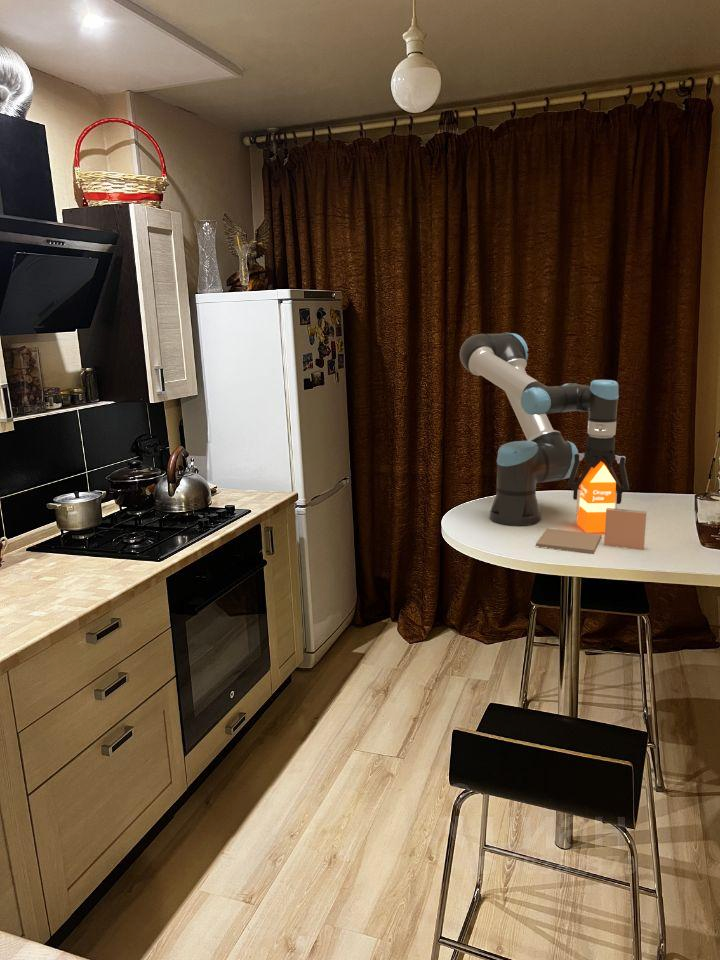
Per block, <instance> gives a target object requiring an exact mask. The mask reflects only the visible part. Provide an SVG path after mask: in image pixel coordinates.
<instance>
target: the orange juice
mask: <svg viewBox="0 0 720 960" xmlns="http://www.w3.org/2000/svg"><path fill="white" fill-rule="evenodd" d="M581 475H582V473H581V474H580V476H581ZM579 488H581V499H580V511H579V512H576V513H577V516H576V517H577V518H576V525H578V527H580V528H581V530H583V532H585V533H605V520H606V509H607V508H614V506H615V491H616V481H615V480H614V478H613V477H612V475H611V474H610V472H609V470H608V469H607V467H606V466H605V464H604V463H602V462H601V461H600V463H599V464H598V465H597V466H596V467H595V468H592V467H591V469H590V470H589V472H588V473H587V475H586V476H585V478H584V479H583V481H582V483H581V484H580V486H579Z"/></svg>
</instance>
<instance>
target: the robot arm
mask: <svg viewBox="0 0 720 960" xmlns="http://www.w3.org/2000/svg"><path fill="white" fill-rule="evenodd" d="M528 352H529V348H528V345H527V343H526V341H525V339H524V338H523V337H522V336H521V335H519V334H518V333H513V332H512V333H511V332H501V333H478V334H473V335H471V336H469V337H468V338H467V339H466V340H465V341H464V342H463V343H462V345H461V346H460V349H459V359H460V362H461V365H462V366H463V367H464V369H466V370H467V371H468V372H469V373H470V374H473V375H474V376H478V377H479V376H482V377H483V378H484V379H486V380H488V381H489V382H491V383H492V384H493V385H495V386H496V387H498V388H500V389H502V390H503V391H504V392H505V395H506V396H507V399H508V401H509V404H510V406H511V408H512V409H513V412H514V413H515V414H514V415H515V416H516V418H517V420H518V423H519V425H520V428H521V429H522V432H523V434H524V436H525V438H526V440H518V441H516V440H514V441H510V442H507V443H504V444H502V445H500V446H499V448H498V450H497V458H496V494H495V497H494V500H493V502H492V505H491V508H490V511H489V519H490V520H491V521H492V522H495V523H497V524H500V525H507V526H531V525H535V524H538V523H540V522H541V520H542V519H541V518H542V512H541V509H540V505H539V503H538V502H539V501H538V499H537V496H536V492H537V484H540V483H548V482H555V481H562V480H565V479H568V481H567V487H569V488H572V489H573V494H572V495H573V496H572V498H573V501H576V508H575V509H576V510H575V511H576V513H577V512H579V511H580V499H581V488H579V486H580V484H581V483H582V481H583V479H584V478H585V476H586V475H587V473H588V472H589V470H590V469H591V467H592V468H595V467H596V466H597V465H598V464H599V463H600V461H601V462H602V463H604V464H605V466H606V467H607V469H608V470H609V472H610V474H611V475H612V477H613V478H614V480H615V481H616V490H615V506H614V509H618V505H620V504H621V503H622V498H623V497H622V495H623V493H625V492H626V493H627V492H629V489H630V485H629V479H628V473H627V469H626V456H625V455H620V456H619V455H616V453H615V450H616V449H615V446H616V437H615V436H616V433H617V431H616V430H617V413H618V403H619V398H620V395H619V383H618V381H616V380H614V379H613V380H612V379H593V380H592V381H591V382H590V385H586V384H578V383H564V384H562V385H555V386H553V385H552V386H547V385H545V384H543V383H541V382H540V381H538V380H537V379H535V378H533V377H531V376H530V375H529V374H527V372H526V367H527V365H528V364H527V361H528V358H529V353H528ZM568 412H582V413H583V412H584V413H588V417H587V418H588V419H587V431H586V432H587V434H588V436H587V437H586V450H585V452H583V453H580V452H579V449H578V448H577V446H576V445H575V443H573V442H571V441H569V440H565V439H564V438H563V436H562V433H561V431H559V430H556V429H554V428H553V427H552V424H551V422H550V420H549V418H548V415H549V414H555V413H568ZM547 414H548V415H547ZM583 459H585V461H586V462H587V463H588V464H587V465H586V467H585V469H584V470H583V472H582V473H581V474H582V475H581V474H580V475H579V478H578V479H577V481H576V482H574V481H575V479H576V476H577V472H578V470H579V466H580V463H581V462H582V461H583ZM614 461H616V462H617V464H618V465H619V472H620V477H621V482H622V485H621V483H620V481H619V478H618V477H617V475H616V473H615V471H614V468H613V466H612V464H613V462H614Z"/></svg>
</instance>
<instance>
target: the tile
mask: <svg viewBox="0 0 720 960" xmlns="http://www.w3.org/2000/svg"><path fill="white" fill-rule="evenodd" d="M647 516H648V515H647V511H645V510H634V509H623V508H617V509H614V508H607V509H606V520H605V532H604V537H603V539H604V540H603V546H606V545H610V546H609V547H615V546H618V547H617V548H623V547H627V548H626V549H632V548H633V550H642V551H643V550H644V549H645V541H646V540H645V537H646V529H647V527H646V526H647V525H646V524H647Z"/></svg>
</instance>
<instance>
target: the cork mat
mask: <svg viewBox="0 0 720 960" xmlns="http://www.w3.org/2000/svg"><path fill="white" fill-rule="evenodd" d="M602 536H603V534H601V533H595V532H588V533H586V532H585V531H577V530H576V531H573V530H564V529H557V528H556V529H555V528H546V529H545V531H544V532H543V533H542V535H541V536H540V537H539V539H538V540H537V541H536V542H535V547H536V546H539V547H538V548H541V547H547V548H546V549H549V548H554V549H553V550H557V549H561V550H560V551H566V550H568V551H567V552H574V551H575V552H574V553H582V552H583V553H584V554H591V553H592V554H593V555H594V554H595V552H596V550H597V548H598V545H599V544H600V542H601V540H600V539H602ZM583 553H582V554H583Z"/></svg>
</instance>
